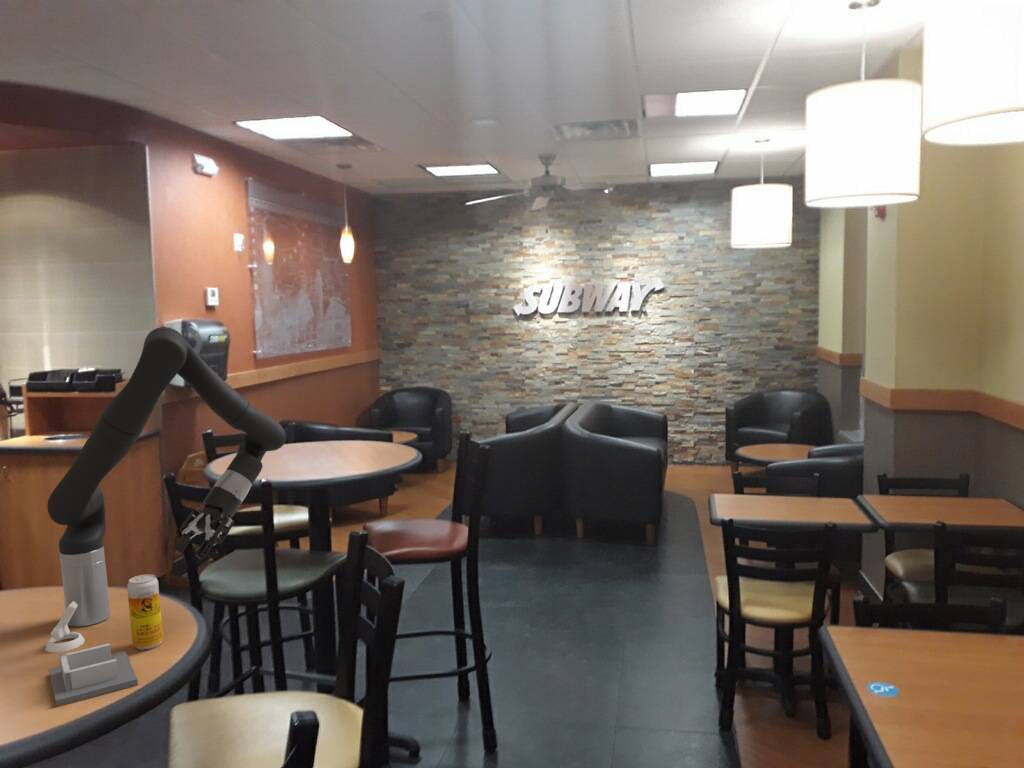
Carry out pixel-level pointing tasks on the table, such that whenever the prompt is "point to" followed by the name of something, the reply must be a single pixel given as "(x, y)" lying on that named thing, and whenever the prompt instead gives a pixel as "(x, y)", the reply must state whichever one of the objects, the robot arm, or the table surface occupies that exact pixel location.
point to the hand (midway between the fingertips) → (187, 554)
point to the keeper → (91, 674)
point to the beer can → (145, 611)
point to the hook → (64, 633)
